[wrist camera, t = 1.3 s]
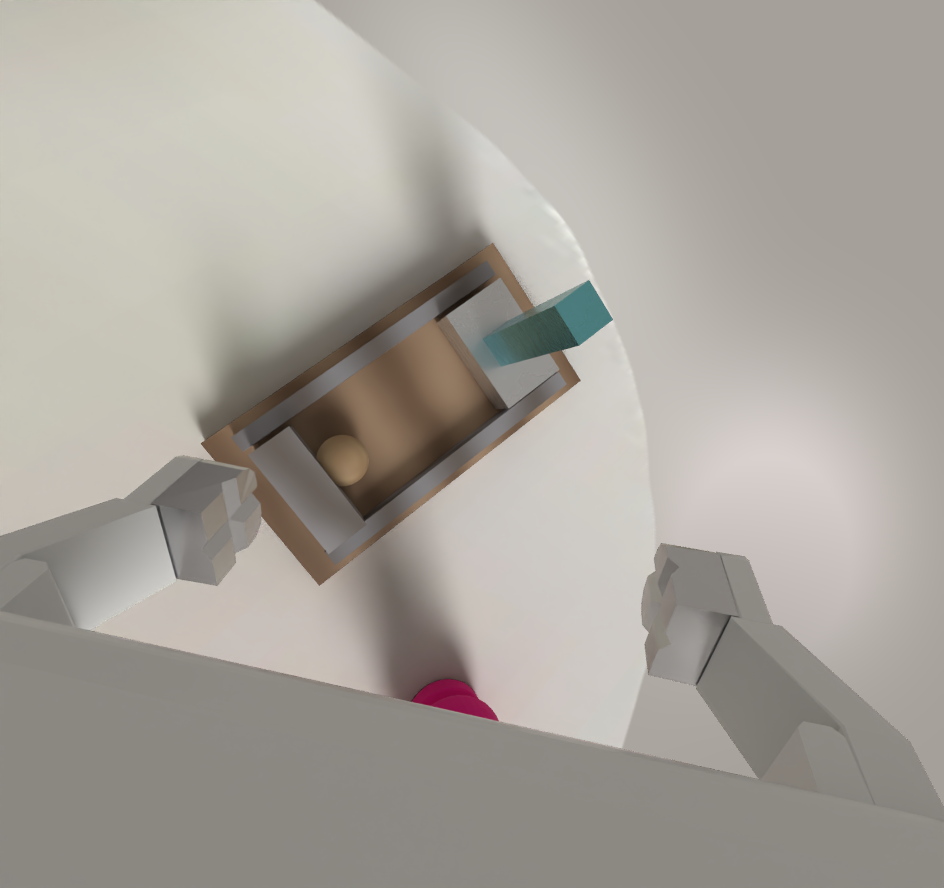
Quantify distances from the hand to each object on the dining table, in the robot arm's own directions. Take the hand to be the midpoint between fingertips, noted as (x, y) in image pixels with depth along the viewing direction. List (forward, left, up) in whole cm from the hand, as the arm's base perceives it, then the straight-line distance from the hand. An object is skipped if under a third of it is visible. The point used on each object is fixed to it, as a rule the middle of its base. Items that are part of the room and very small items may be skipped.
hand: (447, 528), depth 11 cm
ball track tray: (+5, +3, -32) cm, 33 cm away
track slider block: (+11, +8, -30) cm, 33 cm away
